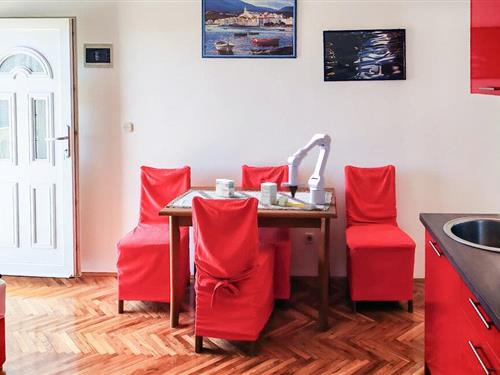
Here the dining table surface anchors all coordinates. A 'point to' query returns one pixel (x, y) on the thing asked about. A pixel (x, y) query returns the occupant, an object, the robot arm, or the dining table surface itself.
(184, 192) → the dining table surface
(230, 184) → the light bulb box
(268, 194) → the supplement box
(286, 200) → the sleeve
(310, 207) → the comb
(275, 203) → the pale yellow rod
